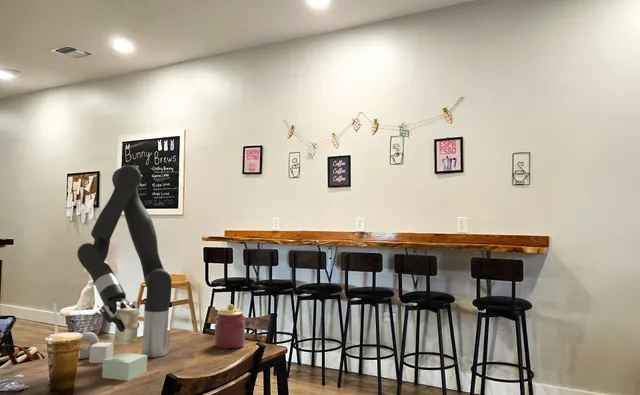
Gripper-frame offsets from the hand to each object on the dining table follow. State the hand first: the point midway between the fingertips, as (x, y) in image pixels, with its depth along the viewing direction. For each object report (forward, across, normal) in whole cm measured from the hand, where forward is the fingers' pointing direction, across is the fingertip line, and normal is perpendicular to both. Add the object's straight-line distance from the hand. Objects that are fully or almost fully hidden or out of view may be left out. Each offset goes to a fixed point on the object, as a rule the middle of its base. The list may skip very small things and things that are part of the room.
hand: (130, 329), depth 162 cm
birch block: (+2, 0, +5) cm, 5 cm away
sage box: (+10, 0, +12) cm, 16 cm away
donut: (-10, +4, +32) cm, 34 cm away
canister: (+11, +51, +10) cm, 53 cm away
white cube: (-5, +6, +27) cm, 28 cm away
